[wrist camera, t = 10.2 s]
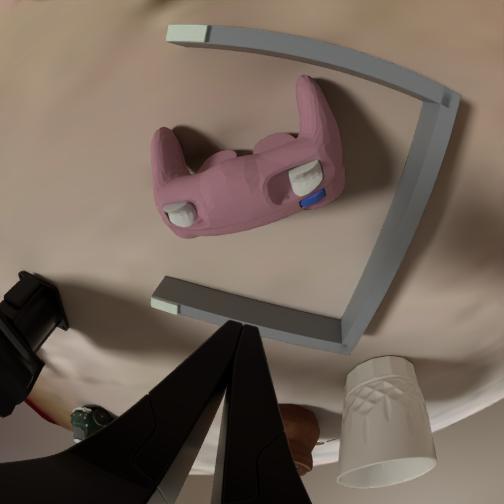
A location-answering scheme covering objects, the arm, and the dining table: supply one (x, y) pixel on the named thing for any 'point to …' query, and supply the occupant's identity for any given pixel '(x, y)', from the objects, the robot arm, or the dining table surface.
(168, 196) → the video game controller
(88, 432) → the miniature car
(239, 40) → the frame
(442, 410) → the dining table surface
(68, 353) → the dining table surface
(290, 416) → the ceramic pot
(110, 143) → the dining table surface
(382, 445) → the white cup
